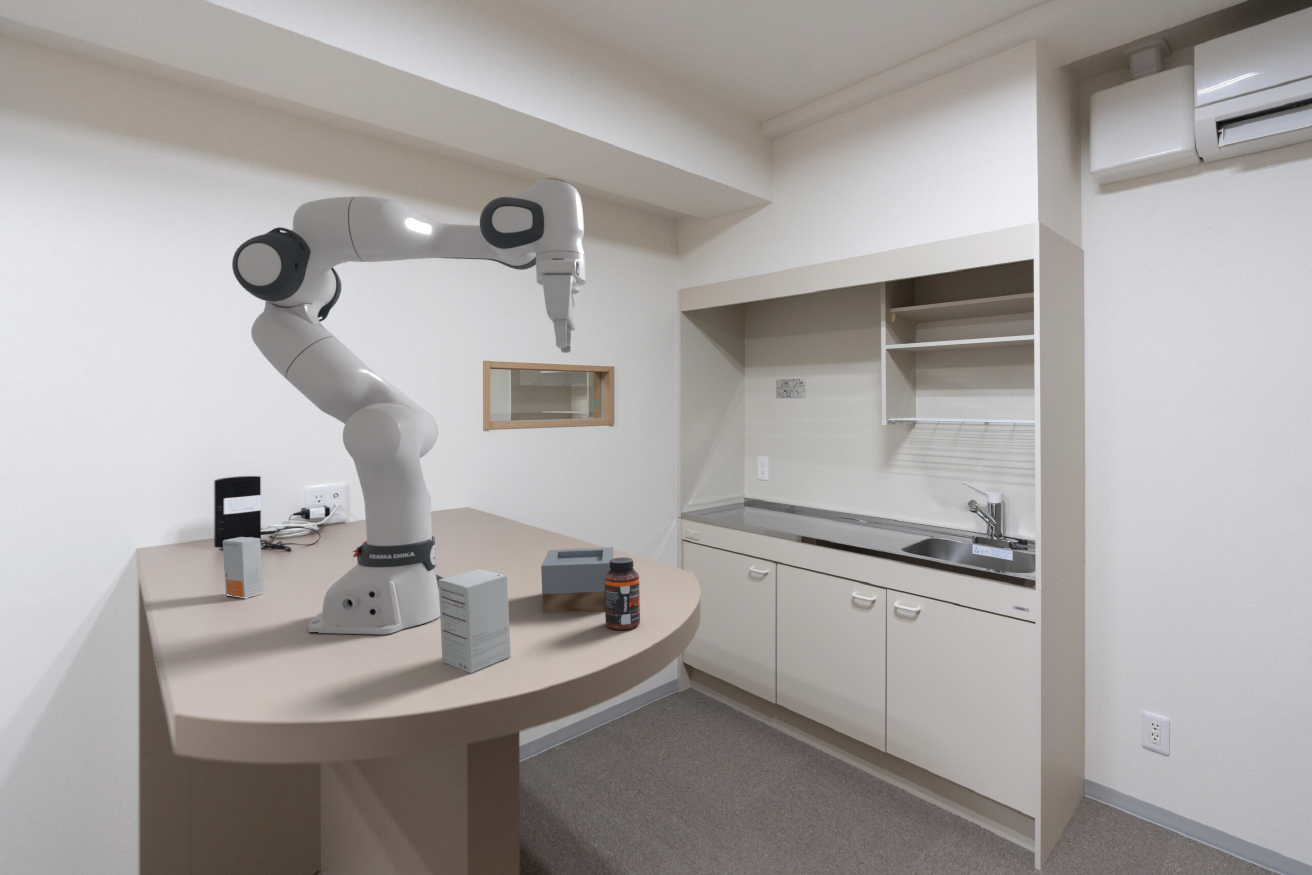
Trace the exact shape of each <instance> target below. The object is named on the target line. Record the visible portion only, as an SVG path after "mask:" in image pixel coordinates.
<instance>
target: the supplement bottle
mask: <svg viewBox="0 0 1312 875" xmlns="http://www.w3.org/2000/svg"><path fill="white" fill-rule="evenodd" d="M634 566H635V565H634V559H633V558H631V557H625V556H624V557H623V556H622V557H614V558H613V559H611V560H610V568H611V569H610V571H609V572H607V573H606V574H605V579H604V580H605V610H604V614H605V615H604V616H605V617H604V618H605V626H606V627H608V628H609V629H613V630H615V631H626V630H632V629H635V628H637V627H638V626H640V624H641V604H640V592H641V591H640V575H639V573H638V571H636V570H635V568H634Z"/></svg>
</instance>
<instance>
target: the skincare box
mask: <svg viewBox="0 0 1312 875" xmlns="http://www.w3.org/2000/svg"><path fill="white" fill-rule="evenodd" d="M261 546H262V545H261V538H260V537H252V536H249V537H246V536H245V537H244V536H238V537H234V538H228V539H224V540H222V551H223V553H222V554H223V565H224V566H223V569H224V583H225V584H224V585H225V588H224V589H225V595H226V594H229V595H232V596H239V597H248V596H251V595H254V594H257V593H261V592H263V593H264V583H263V582H264V580H263V579H264V578H263V566H262V547H261Z"/></svg>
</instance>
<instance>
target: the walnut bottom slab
mask: <svg viewBox="0 0 1312 875" xmlns="http://www.w3.org/2000/svg"><path fill="white" fill-rule="evenodd" d="M542 608H543V609H542V610H543V612H542V613H543V614H551V613H552V614H553V613H575V612H577V613H578V612H596V611H597V612H599V611H605V591H601V592H578V593H555V594H542Z"/></svg>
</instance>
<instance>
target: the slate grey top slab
mask: <svg viewBox="0 0 1312 875" xmlns="http://www.w3.org/2000/svg"><path fill="white" fill-rule="evenodd" d="M614 555H615V554H614V547H612V546H611V547H590V548H589V547H587V548H567V549H566V548H565V549H563V548H560V549H549V550H548V551H547V554H546V555H545V558H544V560H543V562H542V563H541V567H540V569H541V573H540V574H541V595H543V594H555V593H578V592H601V591H605V580H604V579H605V574H606V573H607V572H609V571H610V569H611V568H610V560H611V559H613V558H615V556H614Z"/></svg>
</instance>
